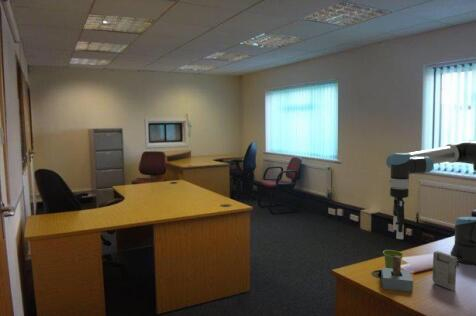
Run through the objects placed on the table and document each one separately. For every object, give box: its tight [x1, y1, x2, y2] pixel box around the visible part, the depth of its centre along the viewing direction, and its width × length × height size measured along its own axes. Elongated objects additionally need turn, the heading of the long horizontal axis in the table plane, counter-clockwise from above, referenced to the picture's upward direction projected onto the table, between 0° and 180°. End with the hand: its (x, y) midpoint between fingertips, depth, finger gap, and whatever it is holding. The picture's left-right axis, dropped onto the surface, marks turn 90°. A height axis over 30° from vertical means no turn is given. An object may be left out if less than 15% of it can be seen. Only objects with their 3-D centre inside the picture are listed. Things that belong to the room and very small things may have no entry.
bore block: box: [380, 267, 414, 293], centre depth 166 cm, size 12×12×5 cm
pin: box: [393, 256, 402, 276], centre depth 166 cm, size 3×3×12 cm
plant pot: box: [382, 249, 404, 269], centre depth 182 cm, size 9×9×9 cm
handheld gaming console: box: [431, 250, 458, 291], centre depth 163 cm, size 9×4×15 cm, turn 28°
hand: (397, 234), depth 164 cm, fingers open, 13 cm apart
